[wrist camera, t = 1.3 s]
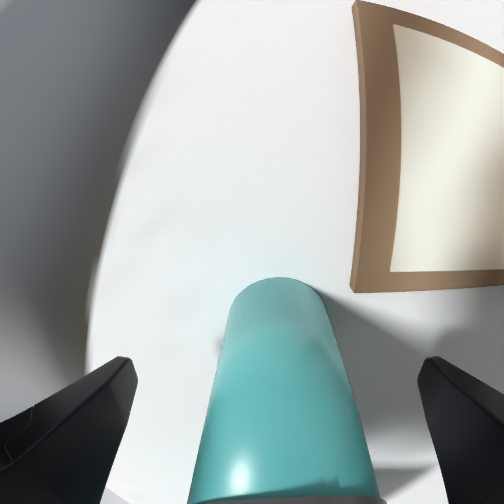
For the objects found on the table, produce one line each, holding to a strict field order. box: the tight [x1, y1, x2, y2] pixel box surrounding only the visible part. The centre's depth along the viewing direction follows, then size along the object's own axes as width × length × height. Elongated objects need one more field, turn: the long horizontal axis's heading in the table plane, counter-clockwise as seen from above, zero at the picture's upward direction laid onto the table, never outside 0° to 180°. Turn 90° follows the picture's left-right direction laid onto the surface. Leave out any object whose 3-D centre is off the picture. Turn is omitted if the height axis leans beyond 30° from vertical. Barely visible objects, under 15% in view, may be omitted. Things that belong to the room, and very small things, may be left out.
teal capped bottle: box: [187, 277, 387, 504], centre depth 6 cm, size 4×4×9 cm
